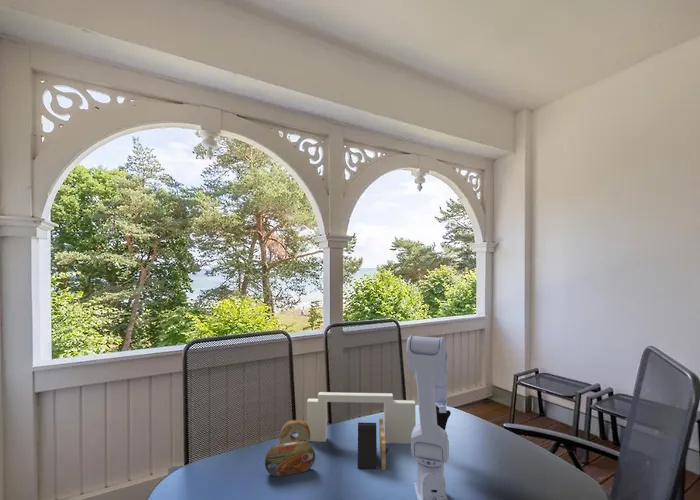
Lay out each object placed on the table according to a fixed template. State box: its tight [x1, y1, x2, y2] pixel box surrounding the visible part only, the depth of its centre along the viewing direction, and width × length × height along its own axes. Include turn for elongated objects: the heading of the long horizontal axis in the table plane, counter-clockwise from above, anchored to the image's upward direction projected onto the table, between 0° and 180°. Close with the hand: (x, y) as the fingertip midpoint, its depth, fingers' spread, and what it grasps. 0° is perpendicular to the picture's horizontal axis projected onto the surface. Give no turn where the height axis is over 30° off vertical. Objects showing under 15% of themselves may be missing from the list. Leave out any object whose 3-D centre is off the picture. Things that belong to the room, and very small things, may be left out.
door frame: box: [306, 391, 417, 445], centre depth 129 cm, size 3×39×16 cm, turn 88°
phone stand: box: [357, 422, 378, 470], centre depth 115 cm, size 9×6×12 cm, turn 177°
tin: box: [264, 441, 316, 477], centre depth 109 cm, size 15×3×8 cm, turn 105°
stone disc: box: [279, 419, 311, 444], centre depth 122 cm, size 10×4×10 cm, turn 95°
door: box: [378, 417, 390, 471], centre depth 119 cm, size 19×2×8 cm, turn 178°
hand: (438, 427), depth 116 cm, fingers open, 7 cm apart
